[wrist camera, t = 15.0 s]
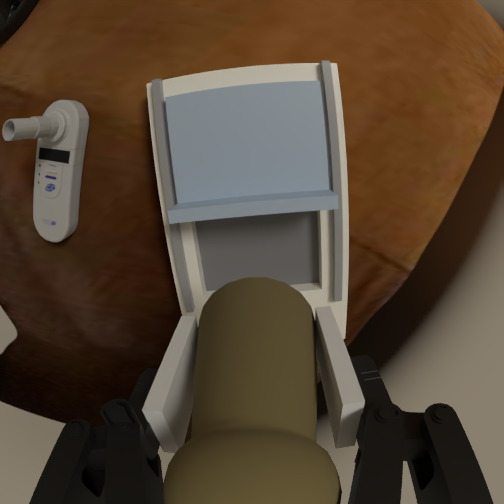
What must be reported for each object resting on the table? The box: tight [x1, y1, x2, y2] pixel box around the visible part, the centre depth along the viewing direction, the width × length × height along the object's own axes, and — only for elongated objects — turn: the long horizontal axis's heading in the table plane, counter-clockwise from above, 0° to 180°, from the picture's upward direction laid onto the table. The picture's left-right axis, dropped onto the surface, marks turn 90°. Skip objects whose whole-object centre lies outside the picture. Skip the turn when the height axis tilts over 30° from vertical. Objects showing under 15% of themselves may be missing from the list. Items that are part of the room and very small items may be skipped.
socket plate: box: [147, 61, 349, 339], centre depth 27 cm, size 26×16×3 cm, turn 6°
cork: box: [162, 277, 342, 504], centre depth 10 cm, size 6×6×11 cm
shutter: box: [165, 81, 339, 224], centre depth 22 cm, size 10×12×4 cm
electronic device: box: [2, 100, 89, 242], centre depth 23 cm, size 5×10×15 cm
